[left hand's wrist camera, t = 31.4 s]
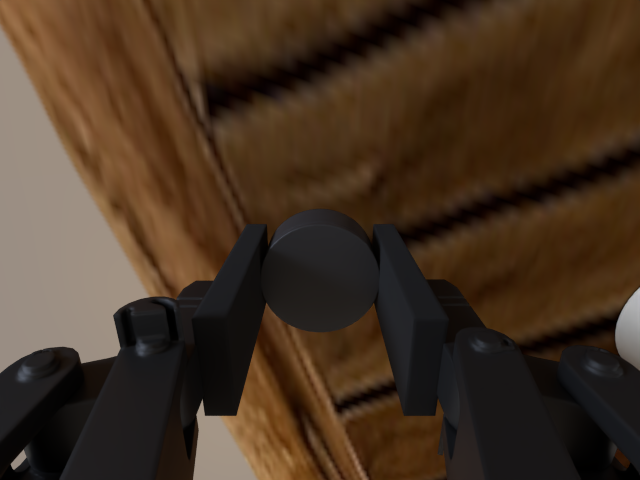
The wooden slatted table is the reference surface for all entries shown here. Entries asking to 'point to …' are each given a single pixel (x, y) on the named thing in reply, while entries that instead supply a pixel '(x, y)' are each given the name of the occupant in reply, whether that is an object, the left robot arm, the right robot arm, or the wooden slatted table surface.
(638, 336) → the bottle
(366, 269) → the cap
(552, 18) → the wooden slatted table surface
